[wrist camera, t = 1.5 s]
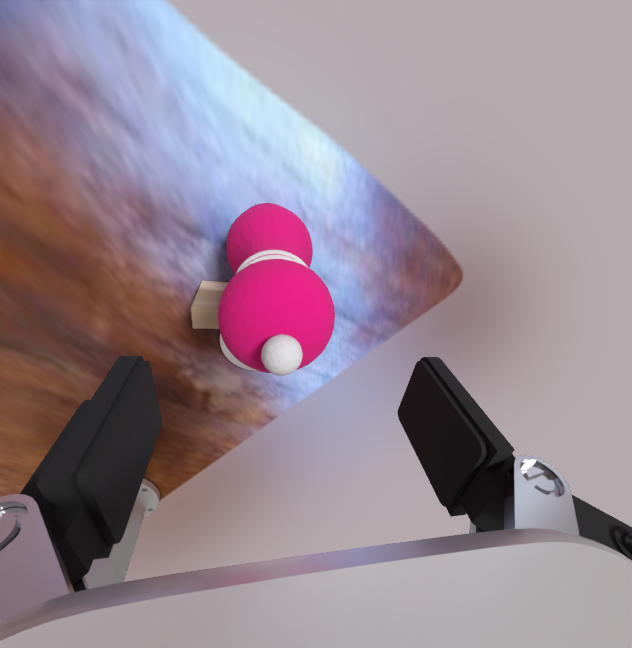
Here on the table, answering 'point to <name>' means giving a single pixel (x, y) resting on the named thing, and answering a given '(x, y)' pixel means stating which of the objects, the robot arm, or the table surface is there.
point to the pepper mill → (273, 293)
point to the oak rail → (207, 305)
